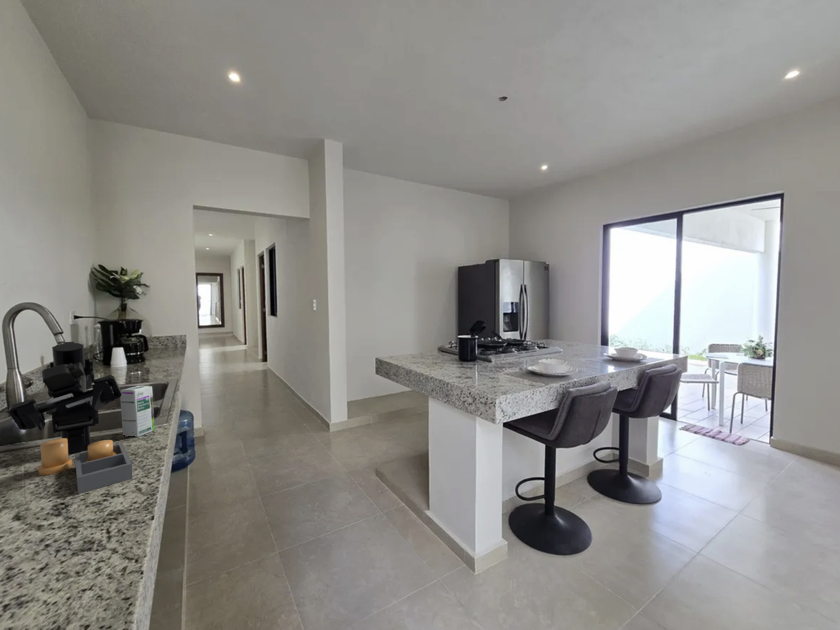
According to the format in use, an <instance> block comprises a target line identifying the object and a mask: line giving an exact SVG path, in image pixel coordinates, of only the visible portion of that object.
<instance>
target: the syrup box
mask: <svg viewBox="0 0 840 630" xmlns="http://www.w3.org/2000/svg"><path fill="white" fill-rule="evenodd" d="M120 390H121V393H122V395H121V397H120V398H119V399H120V411H121V413H120V414H121V426H122V436H123V435H125V436H124V437H128V436H135V437H134V438H140V437H141V436H143V435H146V434H149V433H152V432H154V431H155V430H156V426H155V413H154V411H155V409H154V394H153V386H151V385H147V384H146V385H145V384H144V385H136V386H132V387H129V388H124V389H120Z"/></svg>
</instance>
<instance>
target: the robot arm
mask: <svg viewBox="0 0 840 630" xmlns="http://www.w3.org/2000/svg"><path fill="white" fill-rule="evenodd" d="M51 348H52V350H51V351H52V358H53V359H52V362H51V361H50V362H49V367H48V368H44V369H43V370H42V371H41V377H42V382H43V384H44V385H45V387H46V388H47V395H48V396H49V398H51V399H48V400H44V401H40V402H37V401H36V400H35V399H34V398H30V399H28V400H27V399H26V400H24V401H21V402H17V403H14V404H12V405H11V406H9V407H10V408H9V409H8V414H9V416H10V417H11V419H12V420H13V421H14V424H16V426H17V427H18V429H19V430H21V431H26V430H33V429H38V430H39V431H42V430H43V429H44V428H45V426H46V424H47V423H46V418H45V415H44V413H46V412H49V411H51V422H52V431H53V432H52V433H53V434H57V433H60V438H67V441H68V455H70V454H73V453H74V454H75V453H80V452H84V451H88V445H90V444H92V443H93V440H91V430H90V429H91V428H90V427H96V425H98V424H99V421H100V420H99V419H100V418H99V410H100V409H102V408H103V407H105V406H106V405H108V404H110V403H111V402H114V401H115V400H117V399H120V397H121V395H122V393H121V390H122V389H121V388H120V386H119V382H118V381H117V380H116V377H115V376H114V375H112V374H108V375H106V376H102V377H99V378H95V366H94V360H93V361H91V358H87V357H86V356H85V345H84V344H83V343H79V342H78V343H77V342H75V341H64V342H63V343H60V344H57V345H55V346H52V347H51Z"/></svg>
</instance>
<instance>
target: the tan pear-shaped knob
mask: <svg viewBox="0 0 840 630" xmlns="http://www.w3.org/2000/svg"><path fill="white" fill-rule="evenodd" d="M39 445H40V459H41V465H39V466H38V468H37V469H38V472H37V473H38V476H40V477H41V476H43V477H44V476H52V475H56V474H60V473H63V472H65V471H67V470H69V469H71V468H72V467H73V459H72V458H69V454H68V441H67V438H61V437H60V438H55V439H50V440H47V441H44V442H42V443H40V444H39Z"/></svg>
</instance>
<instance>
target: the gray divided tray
mask: <svg viewBox="0 0 840 630" xmlns="http://www.w3.org/2000/svg"><path fill="white" fill-rule="evenodd" d="M74 460H75V461H74V462H75V463H74V464H75V474H76V485H77V494H78V495H80V494H83V493H88V492H91V491H95V490H97V489H101V488H104V487H108V486H110V485H114V484H118V483H121V482H125V481H128V480H132V479H133V463H132V461H131V459H130V457H129V454H128V452H127V450H126V448H125V446H124V443H123V442H121V443H115V444H114V442H113V440H111V439H104V440H99V441H95V442H92V444H90V445H88V450H84V451H80V452H75V453H74Z"/></svg>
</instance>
